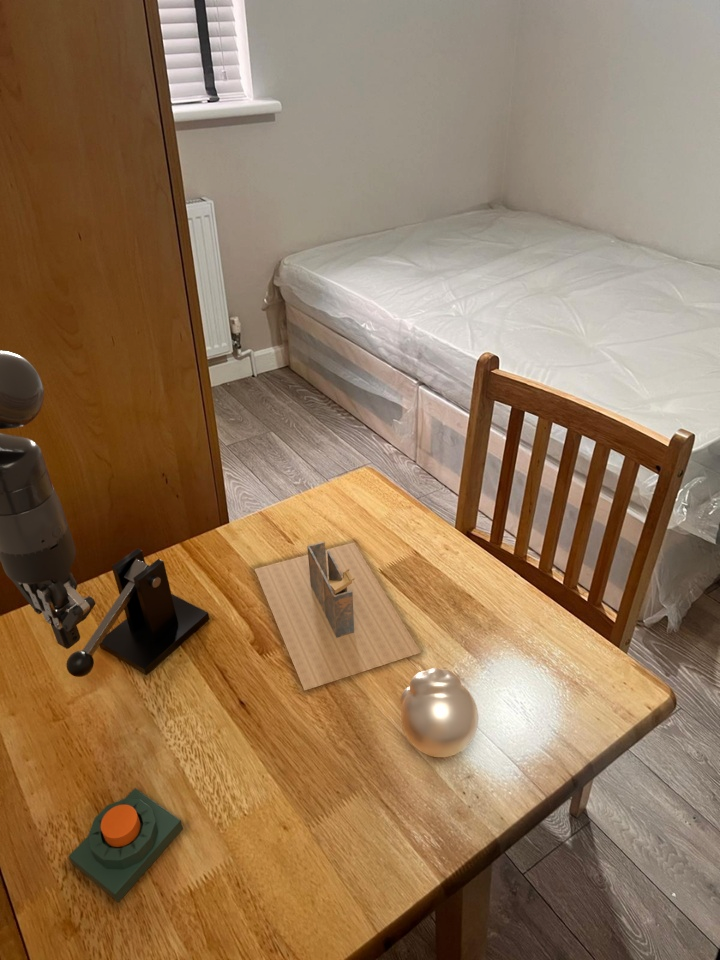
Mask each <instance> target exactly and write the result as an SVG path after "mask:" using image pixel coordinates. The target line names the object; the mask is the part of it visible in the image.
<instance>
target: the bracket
mask: <svg viewBox="0 0 720 960" xmlns="http://www.w3.org/2000/svg"><path fill="white" fill-rule="evenodd" d="M136 559H138V560H140V561H142V562H144V563H146V560H145V556H144V552H143V550H142V549H139V547H137V548H135V549H134V550H132V551H131V552H130V553H129V554H127V555H126V556H124V557H123V558H122V559H120V560H119V561H118V562H116V563H115V564H113V565H111V569H112V574H113V577H114V580H115V584H116V588H117V591H118V594H119V595H120V594H121V592H122V591H123V589H124V588H125V587H126V585H127V584H128V582H129V580H127V579H126V578H124V576H125V574H126V573H127V571H128V570H129V568H130V567H131V565H132V564H133V563H134V561H135V560H136ZM133 579H134V583H135V586H136V592H135V593H134V595H133V596H132V598H131V599H130V601H129V602H128V604H127V605H126V607H125V608H124V610H123V611H124V614H125V618H126V619H124V620H123V621H122V622H121V623H119V624H118V625H117V626H115V627H114V628H113V629H111V630H110V631H109V632H108V634H107V635H106V637H105V638H104V640H103V641H102V643H101V644H100V646H99V648H100V649H101V650H103V651H104V652H106V653H108V654H110V655H111V656H113V657H115V658H116V659H118V660H120V661H122V662H123V663H125V664H126V665H128V666H130V667H131V668H133V669H134V670H136V671H138V672H139V673H141V674H143V675H145V677H146V676H148V675H149V674H150V673H151V672H152V671H154V670H155V669H156V668H157V667H158V666H159V665H161V663H162V662H164V661H165V660H166V659H167V658H168V657H169V656H170V655H171V654H172V653H173V652H175V651H176V650H177V649H178V648H179V647H180V646H181V645H182V644H184V643H185V642H186V641H187V640H188V639H189V638H190V637H191V636H192V635H193V634H194V633H196V632H197V631H199V629H201V628H202V627H203V626H204V625H205V624H206V623H207V622H209V620H210V615H209V612H207V611H206V610H205V609H202V608H200V607H198V606H196V605H195V604H193V603H190V602H188V601H186V600H185V599H182V598H180V597H178V596H177V595H175V594H173V593H172V591H171V586H170V583H169V578H168V573H167V569H166V565H165V561H164V560H162V559H160V558H157V559H156V560H155V561H153V562H152V563H151V564H150V565H149V566H148V567H147V568H146V569H144V570H143V571H142V572H141V573H139V574H138V575H137V576H135V577H134V578H133Z"/></svg>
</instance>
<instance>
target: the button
mask: <svg viewBox="0 0 720 960" xmlns="http://www.w3.org/2000/svg"><path fill="white" fill-rule="evenodd" d="M101 831H102V833H103V836H104V838H105V840H106V842H107V843H108V844H109V845H110V846H113V847H123V846H126V845H128V844H129V843H131V842H132V841H133V840H134V839H135V838H136V837H137V835H138V833H139V831H140V821H139V818H138V815H137V812H136V810H135V809H134V808H133V807H132V806H129V805H118V806H115V807H113V808H111V809H110V810H109V811H108V812H107V813H106V814H105V815H104V817H103V819H102V821H101Z"/></svg>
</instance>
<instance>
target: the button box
mask: <svg viewBox="0 0 720 960" xmlns="http://www.w3.org/2000/svg"><path fill="white" fill-rule="evenodd" d="M118 805H129V806H132V807H133V808H134V809H135V810H136V812H137V815H138V818H139V821H140V831H139V833H138V835H137V837H136V838H135V839H134V840H133V841H132V842H131V843H129V844H128V845H126V846H123V847H113V846H110V845H109V844H108V843H107V842H106V840H105V838H104V836H103V833H102V831H101V821H102V819H103V817H104V815H105V814H106V813H107V812H108V811H109V810H110V809H111V808H113V807H115V806H118ZM183 830H184V828H183V823H182V820H181V819H180V818H178V817H177V816H175V815H174V814H172V813H171V812H170V811H169V810H167V809H165V808H164V807H163V806H161V805H160V804H159V803H157V802H156V801H155V800H153V799H152V798H150V797H149V796H147V795H145V793H143V792H142V791H140V790H139V789H138V788H136V787H134V788H133V789H132V790H131V791H130V792H129V793H128V794H127V795H126V796H125V797H124V798H122V799H120V800H117V801H115V802H112V803H110V804H108V805H106V806H105V807H104V808H103V809H102V810H101V811H100V812H99V813H98V814H97V815H96V816H95V817H94V819H93V821H92V823H91V827H90V829H89V832H88V835H87V837H85V838H84V839H83V840H82V841H81V843H79V844H78V846H77V847H76V848H74V849H73V851H72V852H70V854H69V855H68V858H69V860H70V863H71V865H72V866H73V867H74V868H76V869H77V870H78V872H81V874H83V875H84V876H85V877H86V878H87V879H89V880H90V881H91V882H93V883H94V884H95V885H96V886H97V887H99V888H100V889H101V890H102V891H103V892H105V894H107V895H109V897H110V898H112V899H113V900H114V901H116V903H120V901H122V900H123V898H124V897H125V896H126V895H127V893H128V892H129V891H130V890H131V889H132V888H133V887H134V886H135V885H136V883H138V881H139V880H140V879H141V878H142V876H144V874H145V873H146V872H147V871H148V869H150V868H151V866H152V865H153V864H154V863H155V862H156V861H157V860H158V858H159V857H160V856H161V855H162V854H163V853H164V851H166V849H167V848H168V847H169V846H170V844H171V843H172V842H173V841H175V839H176V838H177V837H178V835H179V834H180V833H181V832H182V831H183Z"/></svg>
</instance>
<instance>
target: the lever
mask: <svg viewBox="0 0 720 960" xmlns="http://www.w3.org/2000/svg"><path fill="white" fill-rule="evenodd" d="M148 566H150V565H149V564H148V563H146V562H145V563H144V562H142V561H140V560H138V559H136V560H135V561H134V563H133V564H132V565H131V567H130V568H129V570H128V571H127V573H126V574H125V576H124V578H126V579H127V580H129V582H128V584H127V585H126V587H125V588H124V589H123V591H122V592H121V594H119V595H118V597H117V598H116V599H115V601H114V603H113V604H112V606H111V608H109V610H108V612H107V613H106V614H105V616H104V617H103V619H102V620H101V621H100V623H99V625H98V626H97V628H96V629H95V631H94V632H93V633H92V635H91V637H90V638H89V640H88V641H87V643H85V645H84V647H83V648H82V650H76V651H74V652H72V653H71V654H70V655H69V656H68V658H67V660H66V663H65V664H66V670H67V672H68V673H69V675H71V676H73V677H75V678H82V677H85V676H87V675H89V674H90V673H91V672H92V671H93V669H94V666H95V660H94V657H93V656H94V654H95V653H96V651H97V650H98V648H100V644H101V643H102V641H103V640H104V638H105V637H106V635H107V634H108V633H109V632H111V630H112V628H113V627H114V625H115V623H116V622H117V620H118V618H119V617H120V615H122V613H123V611H124V608H125V607H126V605H127V604H128V602H129V601H130V599H131V598H132V596H133V595H134V593H135V592H136V586H135V583H134V579H133V578H134V577H135V576H137V575H138V574H139V573H141V572H142V571H143V570H144V569H146V568H147V567H148Z"/></svg>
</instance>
